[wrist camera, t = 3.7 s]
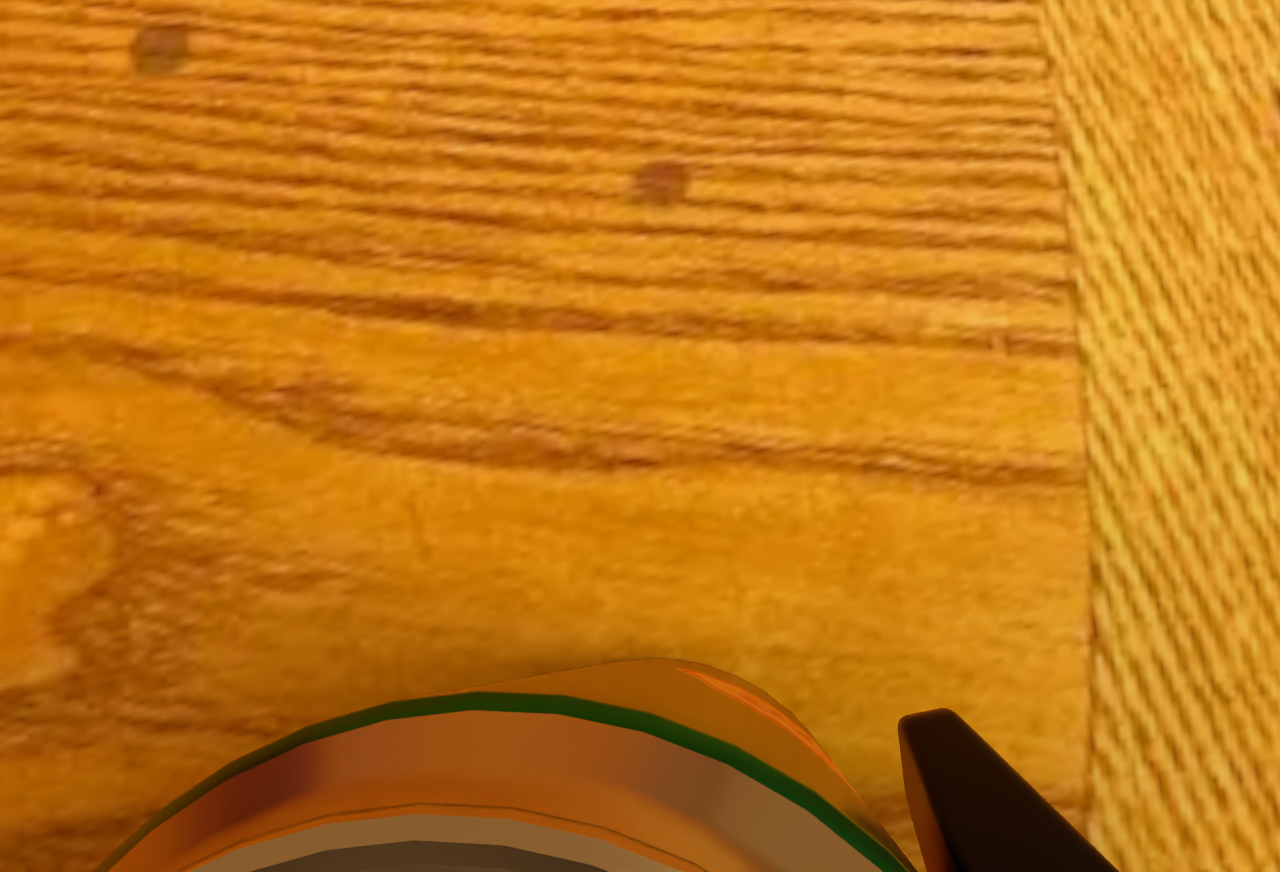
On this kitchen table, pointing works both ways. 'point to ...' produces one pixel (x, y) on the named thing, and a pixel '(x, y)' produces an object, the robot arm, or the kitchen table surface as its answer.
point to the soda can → (532, 786)
